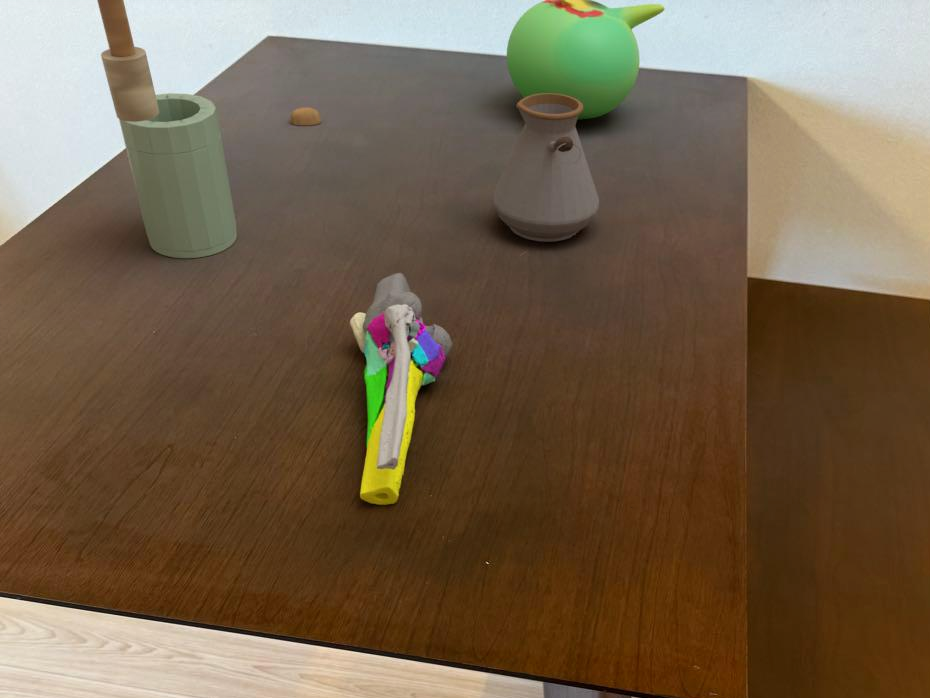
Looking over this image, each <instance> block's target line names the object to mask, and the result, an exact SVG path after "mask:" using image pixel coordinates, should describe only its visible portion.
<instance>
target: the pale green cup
mask: <svg viewBox="0 0 930 698" xmlns="http://www.w3.org/2000/svg"><path fill="white" fill-rule="evenodd" d="M155 95H156V99H157V104H158V108H159V114H158V115H157V116H156V117H154V118H152V119H149V120H145V121H137V122H130V121H123V120H120V119H119V118H118V120H119V125H120V128H121V129H120V130H121V134H122V138H123V141H124V145H125V151H126V154H127V159H128V162H129V166H130V171H131V175H132V179H133V183H134V187H135V191H136V194H137V199H138V205H139V208H140V212H141V217H142V221H143V224H144V228H145V233H146V236H147V238H148V243H149V246H150V247H151V249H152V250H153V251H155V252H156V253H157V254H159V255H162V256H164V257H170V258H175V259H199V258H205V257H209V256H212V255H213V256H214V255H216V254H219V253H222V252H223V251H225V250H227V249H229V248H231V246H232V245H234V243H235V242H236V241H237V237H238V232H237V222H236V215H235V211H234V205H233V198H232V194H231V188H230V181H229V176H228V171H227V165H226V157H225V154H224V146H223V140H222V136H221V135H222V134H221V129H220V124H219V118H218V111H217V107H216V106H215V104H214V103H213V101H212V100H210V99H207V98H206V97H204V96H201V95H195V94H190V93H171V92H170V93H159V94H155Z"/></svg>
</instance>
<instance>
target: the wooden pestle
mask: <svg viewBox="0 0 930 698" xmlns="http://www.w3.org/2000/svg"><path fill="white" fill-rule="evenodd" d="M96 1H97V5H98V8H99V14H100V17H101V20H102V25H103V28H104V32H105V37H106V41H107V46H108V48H107V49H106V50H104V51H102V52H101V54H100V58H101V62H102V65H103V69H104V72H105V73H104V74H105V76H106V77H105V78H106V81H107V84H108V89H109V91H110V96H111V100H112V103H113V107H114V111H115V115H116V117H117V119H118V120H119V119H120V120H123V121H130V122H137V121H145V120H149V119H152V118H154V117H156V116H157V115H158V114H159V108H158V104H157V99H156V95H157V94H156V91H155V87H154V83H153V78H152V74H151V68H150V65H149V60H148V55H147V52H146V50H145V49H144V48H142V47H137V46H135V42H134V39H133V35H132V31H131V26H130V23H129V22H130V21H129V18H128V14H127V9H126V6H125V1H124V0H96Z"/></svg>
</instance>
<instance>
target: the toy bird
mask: <svg viewBox="0 0 930 698" xmlns="http://www.w3.org/2000/svg"><path fill="white" fill-rule="evenodd" d="M665 9H666V8H665V6H664V5H662V4H657V3H653V4H652V3H649V4H638V5H631V6H622V7H609V6H607V5H605V4H603V3H601V2H598V1H595V0H543V1H540V2H539V3H536V4H535V5H533V6H531V7H529V8H528V9H527V10H526V11H525V12H524V13H523V14H522V15H521V16H520V17H519V19H518V20H517V21H516V22H515V24H514V26H513V28H512V30H511V33H510V35H509V37H508V38H509V39H508V41H507V47H506V64H507V70H508V73H509V76H510V79H511V82H512V83H513V85H514V87H515V89H516V90H517V91H518V93H519V94H520V95H521V96H522V98H525V97H527V96H530V95H534V94H541V93H553V94H562V95H567V96H570V97H573V98H575V99H577V100H579V101H580V102H581V103H582V104H583V111H582V113H581V114H580V115H578V118H577V121H578V120H590V119H594V118H598V117H602V116H603V115H606V114H607V113H610V112H611V111H614V110H615V109H616V108H617V107H619V106H620V105H621V104H622V103H623V102H624V101H625V100H626V98H627V97H628V96H629V94H630V93H631V91H632V90H633V88H634V86H635V84H636V81H637V80H638V79H637V78H638V76H639V70H640V50H639V45H638V41H637V38H636V36H635V34H634V31H633V30H632V29H634V28H636V27H638V26H639V25H642V24H643V23H645V22H647V21H649V20H652V19H653V18H655V17H657V16H658V15H660V14H661V13H663V12H664V11H665Z"/></svg>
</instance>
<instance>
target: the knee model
mask: <svg viewBox="0 0 930 698" xmlns="http://www.w3.org/2000/svg"><path fill="white" fill-rule="evenodd" d="M373 299H374V300H373V301H372V304H371V305H370V306H369V307H368V309H367V310H366V313H365V312H360V311H359V312H357V313H355V314H353V316H352V317H351V319H350V320H349V326H350V327H351V330H352V332H353V336H354V338H355V340H356V342H357V345H358V347H359V349H360V351H361V352H362V354H364V357H365V359H366V365H365V367H364V371H363V375H364V383H365V387H366V388H365V390H366V410H367V412H366V413H367V429H366V431H367V432H366V452H365V454H366V455H365V459H364V466H363V472H362V477H361V484H360V491H359V498H360V499H361V500H362V501H364V502H367V503H369V504H372V505H373V504H374V505H377V506H378V505H379V506H386V505H394V504H395V503H397V501H398V499H399V496H400V494H399V493H400V489H401V485H402V479H403V476H404V475H405V473H404V472H405V467H406V466H405V465H406V459H407V455H408V454H407V453H408V450H409V447H410V444H411V440H412V434H413V428H414V423H415V416H416V408H415V407H416V400H417V396H418V393H419V390H420V389H421V387H423V386H427V385H428V384H430V383H433V382H435V381H436V377H437V376H438V375H439V374H440V371H441V370H443V366H444V364H445V362H446V357H447V356H448V354H450V352H451V350H452V348H453V341H452V340H451V337H450V334H449V332H447V331H446V329H444V327H442V326H441V325H440V326H439V325H438V324H436V323H432V324H431V325H426V324H424V319H423V317H422V312H423V304H422V300H421V299H420V298H419V297H418V295H417V294H415V293H414V292H412V291H411V289H410V286H409V284H408V281H407V278H406V277H405V275H404V274H403V273H402V272H397V273H393V274H391V275H389V276H386V277H384V278H382V279H381V280H380V281H379V282H378V283H377V285H376V288H375V293H374V298H373Z"/></svg>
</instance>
